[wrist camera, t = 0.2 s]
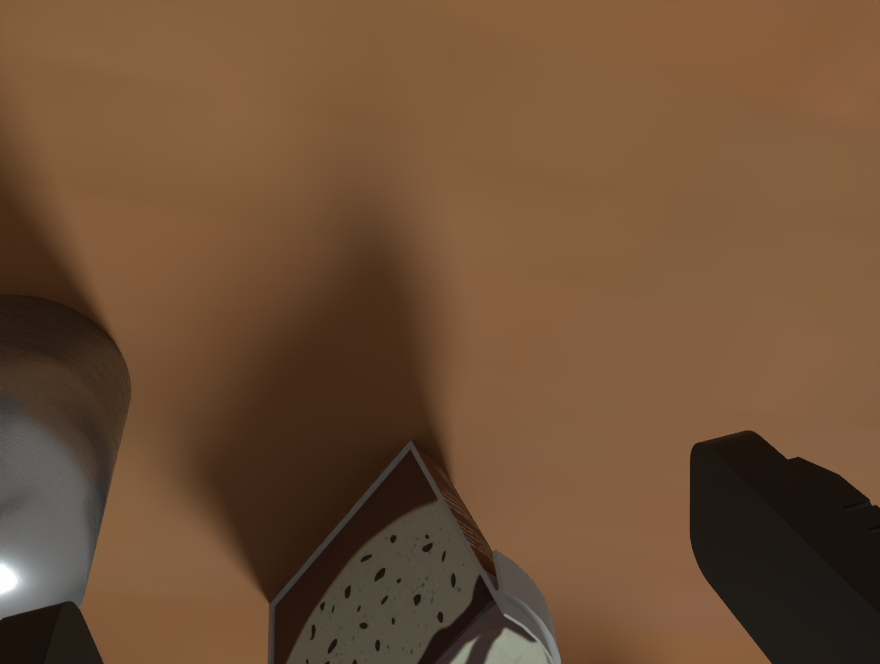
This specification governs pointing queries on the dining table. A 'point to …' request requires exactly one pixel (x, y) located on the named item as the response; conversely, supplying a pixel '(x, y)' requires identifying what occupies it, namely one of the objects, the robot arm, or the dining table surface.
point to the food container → (410, 585)
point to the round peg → (54, 448)
